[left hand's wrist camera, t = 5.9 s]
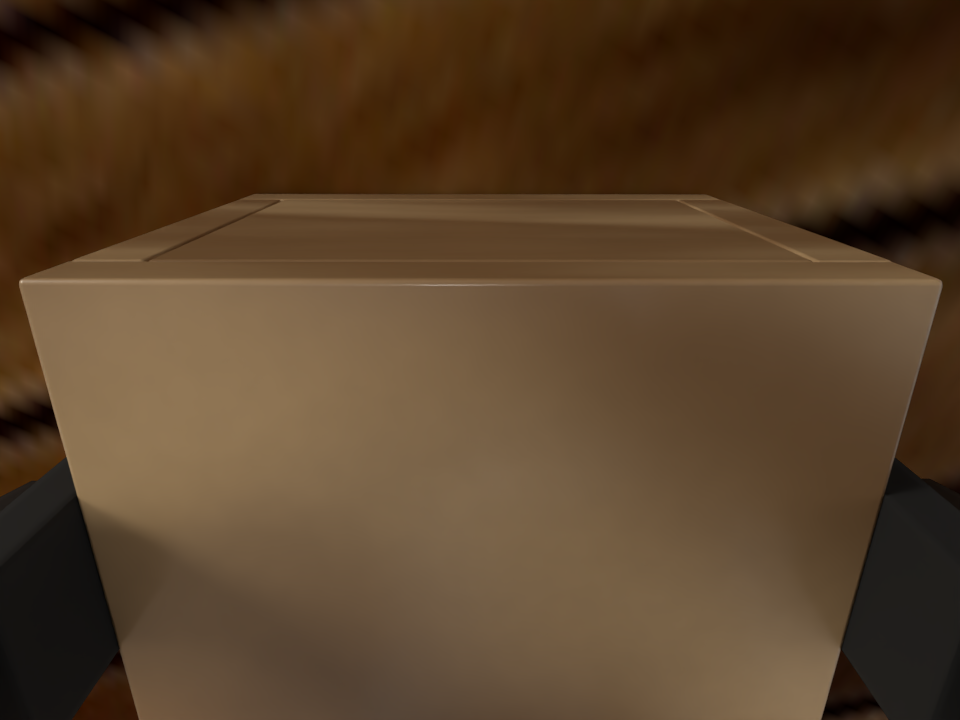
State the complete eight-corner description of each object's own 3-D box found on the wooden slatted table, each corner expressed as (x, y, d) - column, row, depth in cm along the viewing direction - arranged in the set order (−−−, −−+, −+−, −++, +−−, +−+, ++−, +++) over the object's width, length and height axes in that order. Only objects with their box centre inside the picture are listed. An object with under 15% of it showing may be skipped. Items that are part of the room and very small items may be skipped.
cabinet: (641, 701, 21) (734, 1038, 13) (318, 701, 21) (225, 1038, 13) (707, 194, 15) (947, 279, 7) (252, 193, 15) (14, 278, 7)
